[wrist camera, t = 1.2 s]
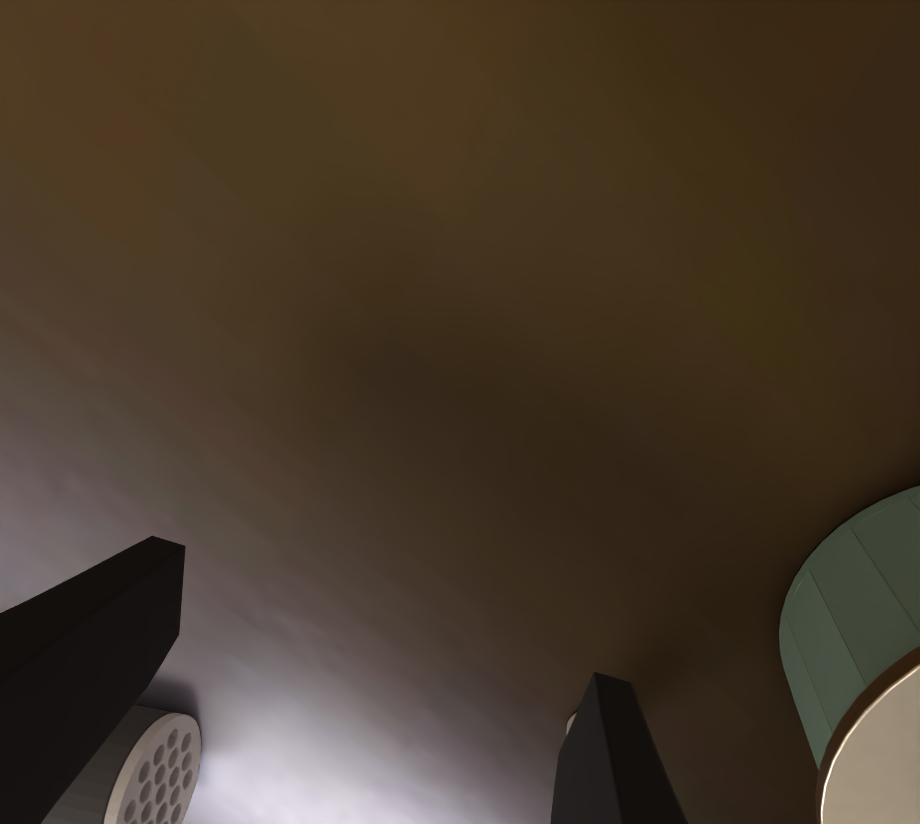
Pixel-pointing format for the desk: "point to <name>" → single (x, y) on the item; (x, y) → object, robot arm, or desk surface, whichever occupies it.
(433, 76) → the desk surface
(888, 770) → the canister lid
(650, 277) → the desk surface
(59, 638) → the robot arm
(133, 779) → the flashlight
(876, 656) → the canister
